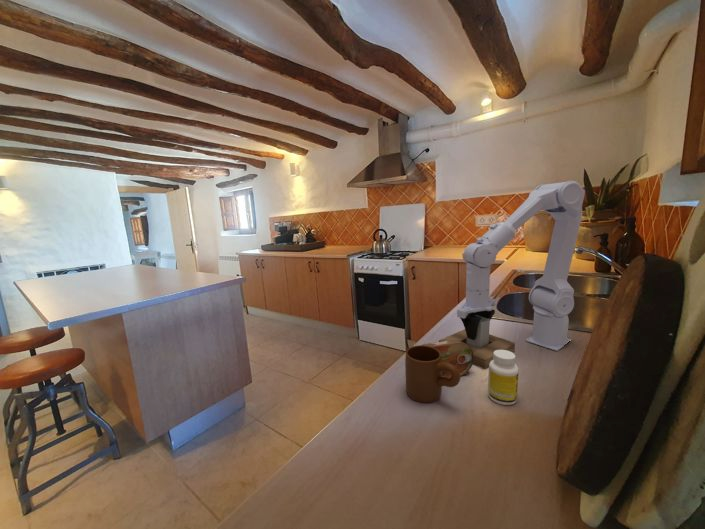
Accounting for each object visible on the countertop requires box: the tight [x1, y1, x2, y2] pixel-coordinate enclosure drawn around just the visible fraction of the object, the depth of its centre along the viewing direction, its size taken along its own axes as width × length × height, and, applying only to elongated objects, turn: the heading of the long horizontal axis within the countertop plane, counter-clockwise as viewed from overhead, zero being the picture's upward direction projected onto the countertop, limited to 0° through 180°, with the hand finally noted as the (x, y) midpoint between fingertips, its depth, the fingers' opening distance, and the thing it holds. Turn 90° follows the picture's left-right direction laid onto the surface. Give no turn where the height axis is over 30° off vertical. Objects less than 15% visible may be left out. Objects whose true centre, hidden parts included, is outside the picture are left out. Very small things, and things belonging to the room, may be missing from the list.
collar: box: [438, 328, 516, 370], centre depth 80 cm, size 14×14×2 cm
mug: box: [404, 344, 461, 404], centre depth 61 cm, size 12×8×9 cm, turn 43°
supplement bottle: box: [487, 350, 520, 406], centre depth 59 cm, size 5×5×10 cm
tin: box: [422, 340, 474, 379], centre depth 68 cm, size 15×3×8 cm, turn 99°
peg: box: [467, 315, 491, 349], centre depth 79 cm, size 4×4×8 cm
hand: (476, 336), depth 79 cm, fingers closed on peg, 4 cm apart
